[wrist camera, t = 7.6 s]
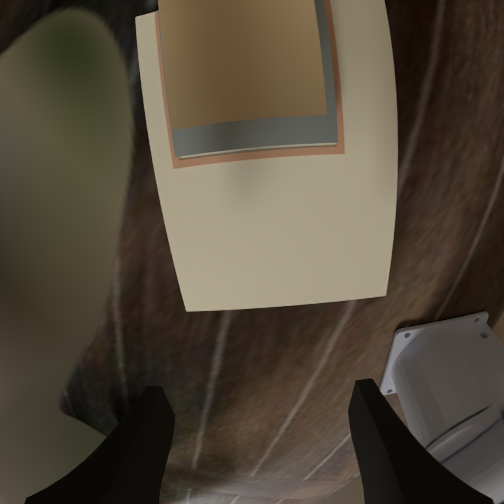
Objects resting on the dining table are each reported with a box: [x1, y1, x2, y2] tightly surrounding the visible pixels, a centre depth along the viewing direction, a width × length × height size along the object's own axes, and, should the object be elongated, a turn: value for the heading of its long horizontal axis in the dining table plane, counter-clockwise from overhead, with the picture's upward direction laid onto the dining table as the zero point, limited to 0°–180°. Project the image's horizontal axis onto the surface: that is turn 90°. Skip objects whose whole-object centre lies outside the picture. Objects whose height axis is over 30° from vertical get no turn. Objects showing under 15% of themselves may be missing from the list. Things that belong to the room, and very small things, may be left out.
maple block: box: [158, 0, 327, 130], centre depth 9 cm, size 4×4×5 cm
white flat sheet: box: [135, 0, 398, 311], centre depth 15 cm, size 13×18×1 cm
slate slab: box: [158, 0, 338, 157], centre depth 12 cm, size 7×7×2 cm
